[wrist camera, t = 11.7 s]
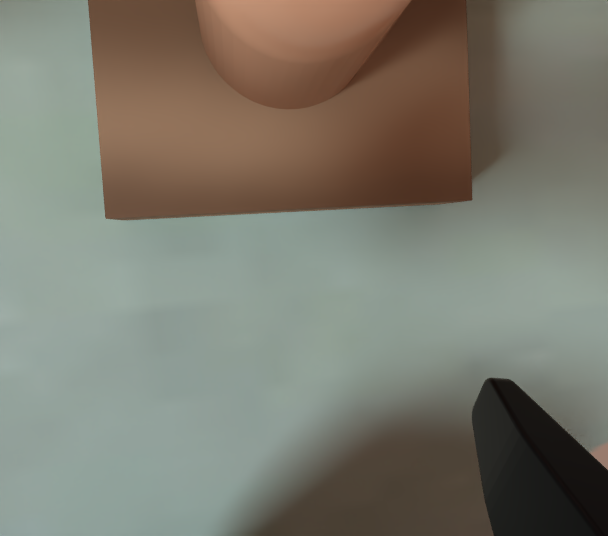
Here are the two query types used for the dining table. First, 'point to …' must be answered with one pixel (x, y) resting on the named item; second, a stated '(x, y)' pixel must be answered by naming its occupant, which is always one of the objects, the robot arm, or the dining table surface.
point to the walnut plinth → (276, 121)
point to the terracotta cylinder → (292, 45)
